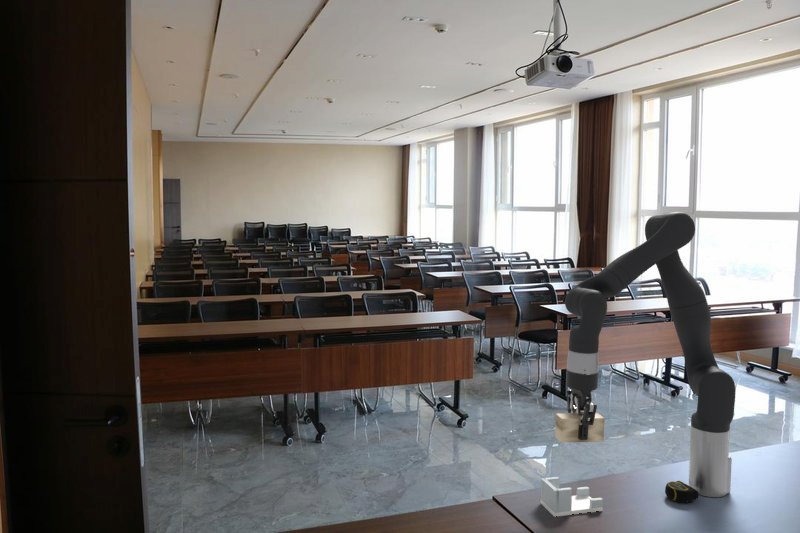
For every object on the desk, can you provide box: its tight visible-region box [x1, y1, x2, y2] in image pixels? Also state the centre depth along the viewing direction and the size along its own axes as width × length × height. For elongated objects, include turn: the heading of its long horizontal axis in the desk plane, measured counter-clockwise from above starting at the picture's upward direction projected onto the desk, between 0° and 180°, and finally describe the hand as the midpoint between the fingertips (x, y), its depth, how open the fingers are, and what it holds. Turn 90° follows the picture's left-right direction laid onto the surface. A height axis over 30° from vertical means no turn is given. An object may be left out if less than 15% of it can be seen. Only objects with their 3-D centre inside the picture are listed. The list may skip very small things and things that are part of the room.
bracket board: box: [540, 476, 604, 518], centre depth 159 cm, size 13×8×6 cm, turn 103°
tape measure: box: [664, 480, 700, 504], centre depth 164 cm, size 7×7×4 cm
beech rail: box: [554, 412, 606, 443], centre depth 159 cm, size 11×4×6 cm, turn 96°
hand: (579, 435), depth 159 cm, fingers closed on beech rail, 4 cm apart
